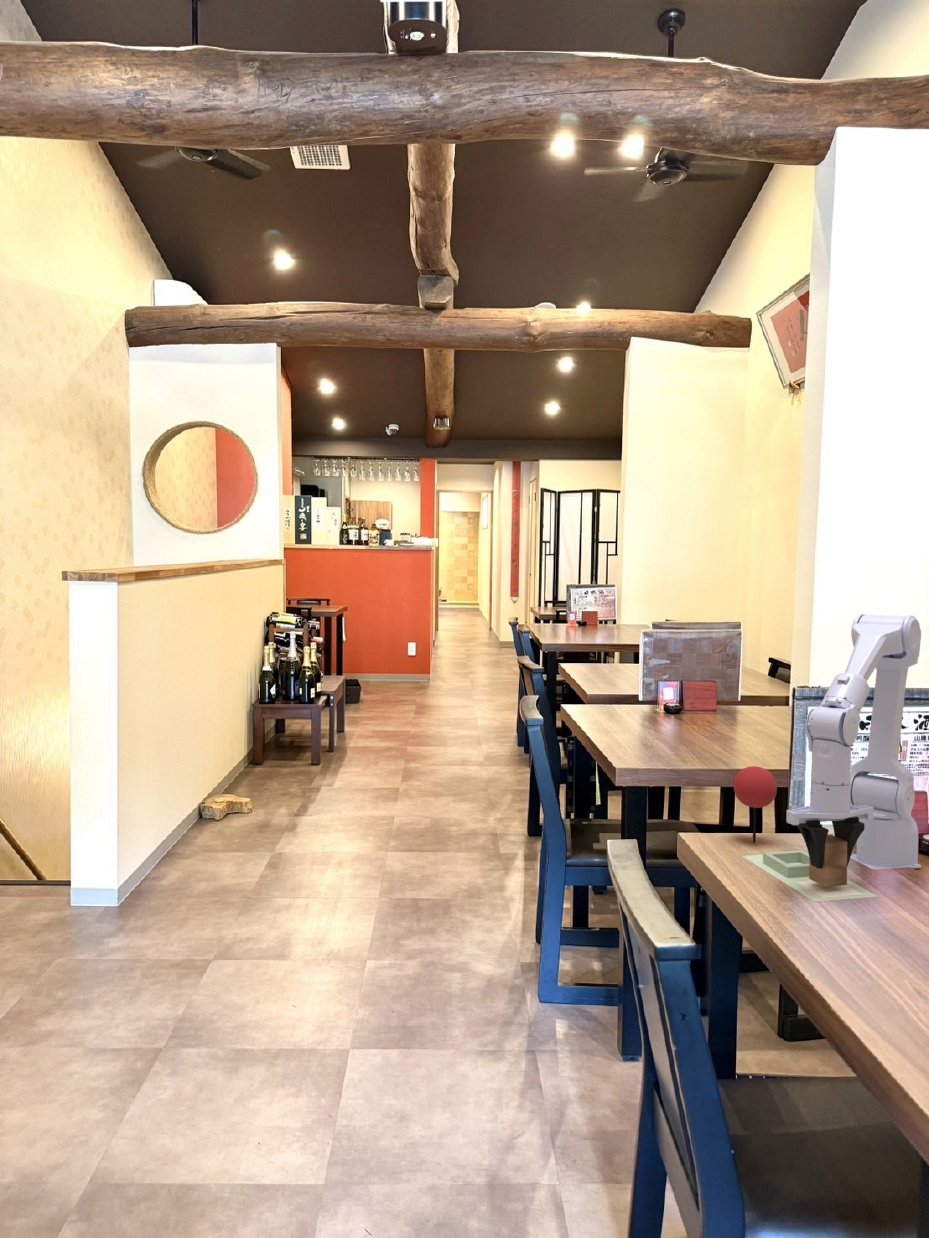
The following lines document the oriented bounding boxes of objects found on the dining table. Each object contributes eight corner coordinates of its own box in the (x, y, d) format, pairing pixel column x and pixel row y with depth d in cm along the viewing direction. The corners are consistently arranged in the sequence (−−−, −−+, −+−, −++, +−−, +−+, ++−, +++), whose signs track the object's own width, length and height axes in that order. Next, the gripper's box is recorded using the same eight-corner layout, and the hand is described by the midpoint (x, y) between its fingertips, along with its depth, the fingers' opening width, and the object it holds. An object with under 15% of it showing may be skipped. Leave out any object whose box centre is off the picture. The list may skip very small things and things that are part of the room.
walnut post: (830, 876, 138) (831, 834, 138) (846, 884, 134) (847, 841, 134) (809, 878, 137) (809, 836, 137) (824, 887, 133) (825, 843, 133)
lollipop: (781, 851, 156) (782, 771, 155) (740, 851, 156) (741, 771, 155) (767, 838, 163) (768, 762, 163) (728, 838, 164) (728, 762, 163)
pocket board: (797, 855, 154) (797, 842, 154) (878, 900, 132) (878, 885, 132) (741, 859, 152) (741, 846, 152) (814, 905, 130) (815, 890, 130)
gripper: (853, 773, 140) (852, 853, 141) (775, 778, 137) (774, 860, 138) (883, 783, 133) (881, 867, 134) (802, 788, 130) (800, 875, 131)
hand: (829, 865), depth 135 cm, fingers open, 4 cm apart
